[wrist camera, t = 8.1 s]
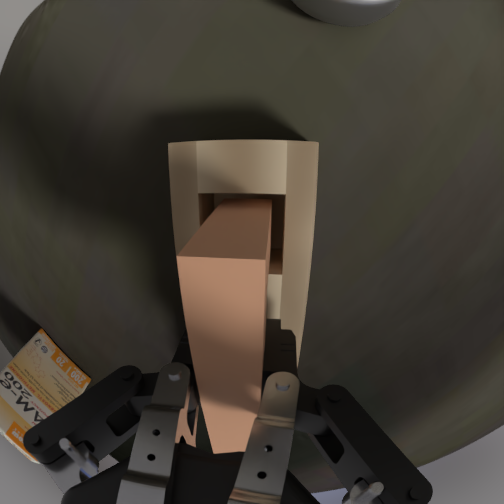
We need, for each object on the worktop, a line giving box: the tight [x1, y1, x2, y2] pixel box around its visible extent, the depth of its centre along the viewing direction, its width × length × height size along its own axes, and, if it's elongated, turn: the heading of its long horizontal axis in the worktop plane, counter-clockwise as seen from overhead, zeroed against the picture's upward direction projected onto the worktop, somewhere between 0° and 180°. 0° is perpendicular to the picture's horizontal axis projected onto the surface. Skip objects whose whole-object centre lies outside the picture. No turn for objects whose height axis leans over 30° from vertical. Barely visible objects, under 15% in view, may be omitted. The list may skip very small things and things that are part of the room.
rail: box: [168, 139, 319, 410], centre depth 16 cm, size 6×18×4 cm, turn 0°
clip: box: [177, 198, 272, 454], centre depth 13 cm, size 2×12×7 cm, turn 0°
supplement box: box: [0, 329, 91, 463], centre depth 19 cm, size 8×5×13 cm, turn 38°
